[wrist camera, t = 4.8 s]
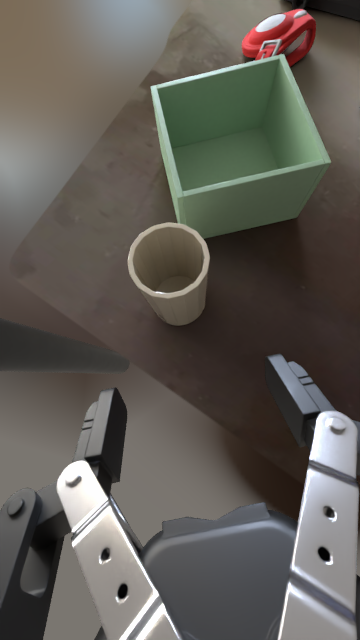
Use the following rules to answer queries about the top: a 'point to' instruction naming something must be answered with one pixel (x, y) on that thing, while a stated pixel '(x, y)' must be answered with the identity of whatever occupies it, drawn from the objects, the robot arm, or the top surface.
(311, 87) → the top surface
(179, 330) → the top surface
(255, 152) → the bin
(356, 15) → the digital display
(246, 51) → the tracker holder
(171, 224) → the paper cup
